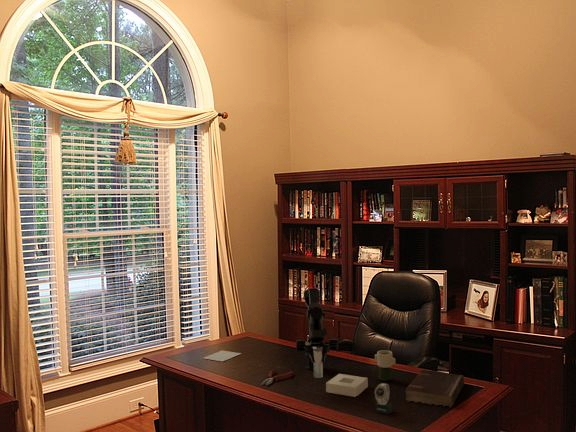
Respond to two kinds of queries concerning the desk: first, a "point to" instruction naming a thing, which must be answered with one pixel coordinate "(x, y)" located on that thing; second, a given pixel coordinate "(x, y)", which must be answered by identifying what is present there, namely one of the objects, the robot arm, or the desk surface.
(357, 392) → the block
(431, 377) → the hardback book
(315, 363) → the steel pin
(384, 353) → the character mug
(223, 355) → the paper stack
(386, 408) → the watch
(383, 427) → the desk surface
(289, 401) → the desk surface
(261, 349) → the desk surface
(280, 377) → the pliers
